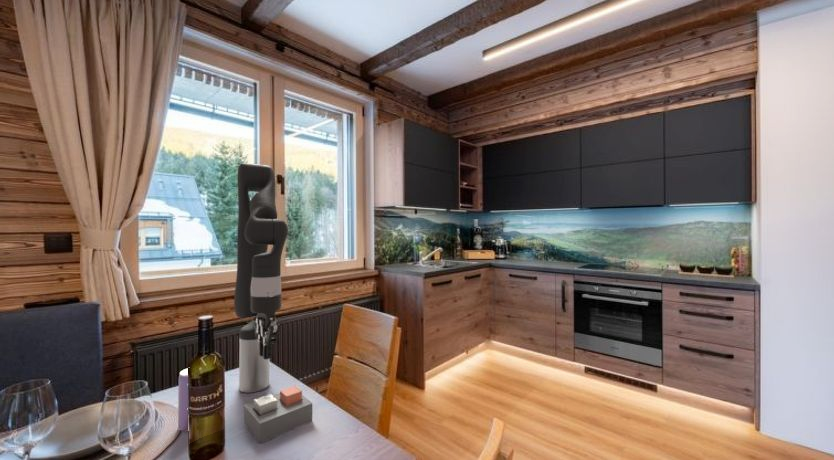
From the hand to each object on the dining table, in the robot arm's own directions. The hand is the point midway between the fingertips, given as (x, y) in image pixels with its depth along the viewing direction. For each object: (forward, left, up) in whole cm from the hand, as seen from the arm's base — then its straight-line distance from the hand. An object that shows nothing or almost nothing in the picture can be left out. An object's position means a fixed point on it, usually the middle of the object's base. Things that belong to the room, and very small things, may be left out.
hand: (265, 356), depth 88 cm
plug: (0, 0, -16) cm, 16 cm away
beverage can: (-15, -14, -19) cm, 28 cm away
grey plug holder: (0, +4, -19) cm, 19 cm away
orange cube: (0, +7, -16) cm, 18 cm away
